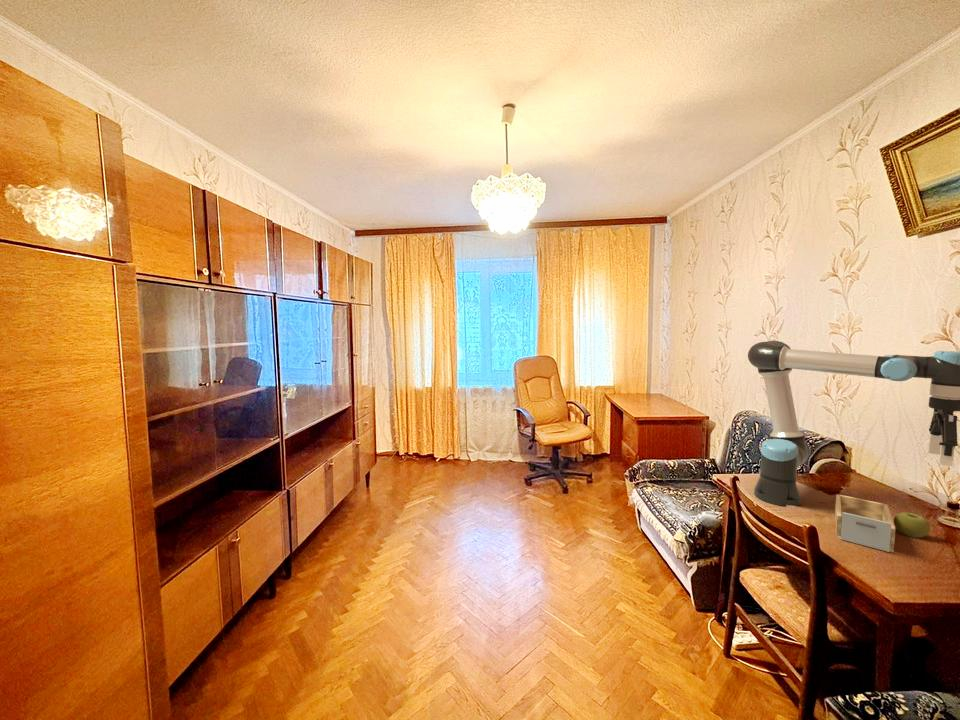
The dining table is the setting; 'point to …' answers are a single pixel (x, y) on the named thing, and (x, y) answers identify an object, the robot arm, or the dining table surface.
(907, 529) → the apple
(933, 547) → the dining table surface
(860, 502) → the crate
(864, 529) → the pale blue panel
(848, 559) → the dining table surface
